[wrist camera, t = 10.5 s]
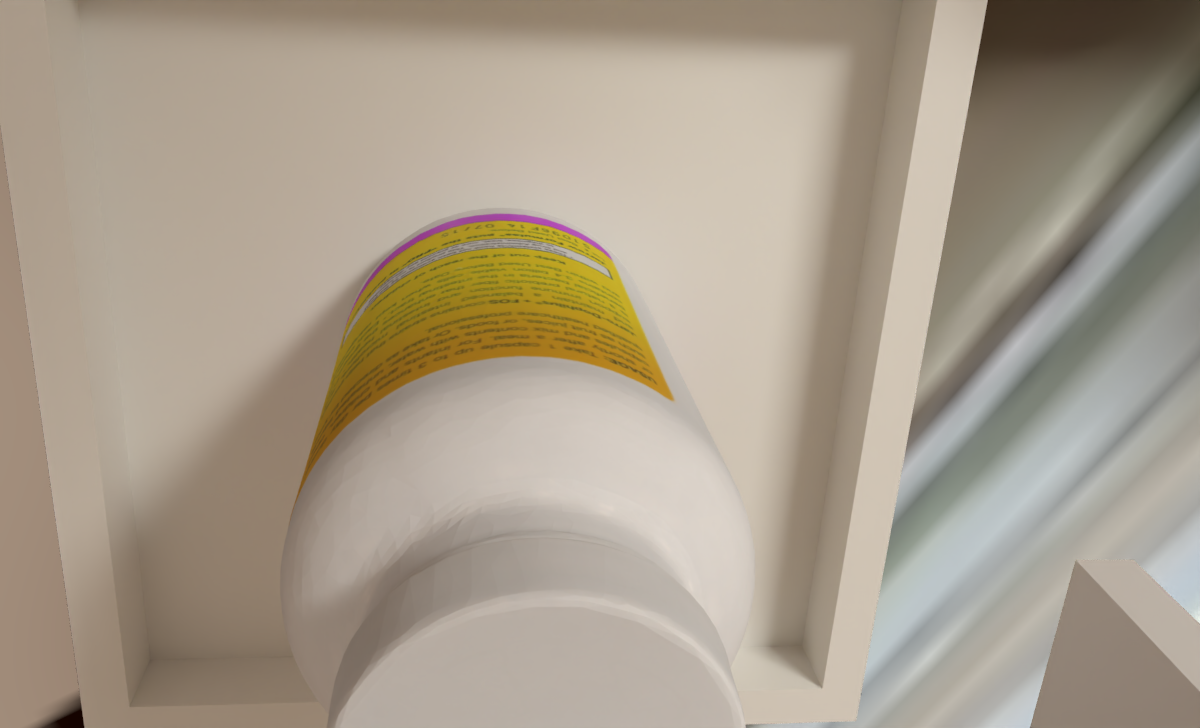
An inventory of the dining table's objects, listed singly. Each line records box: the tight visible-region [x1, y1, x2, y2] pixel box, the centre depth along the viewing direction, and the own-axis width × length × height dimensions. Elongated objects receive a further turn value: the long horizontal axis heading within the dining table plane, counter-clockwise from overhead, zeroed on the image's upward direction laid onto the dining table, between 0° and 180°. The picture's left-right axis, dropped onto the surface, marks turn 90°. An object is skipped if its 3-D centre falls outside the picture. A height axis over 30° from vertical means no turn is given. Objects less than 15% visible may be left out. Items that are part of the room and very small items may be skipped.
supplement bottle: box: [280, 208, 755, 728], centre depth 17 cm, size 7×7×13 cm
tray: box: [0, 0, 988, 728], centre depth 23 cm, size 18×18×2 cm
